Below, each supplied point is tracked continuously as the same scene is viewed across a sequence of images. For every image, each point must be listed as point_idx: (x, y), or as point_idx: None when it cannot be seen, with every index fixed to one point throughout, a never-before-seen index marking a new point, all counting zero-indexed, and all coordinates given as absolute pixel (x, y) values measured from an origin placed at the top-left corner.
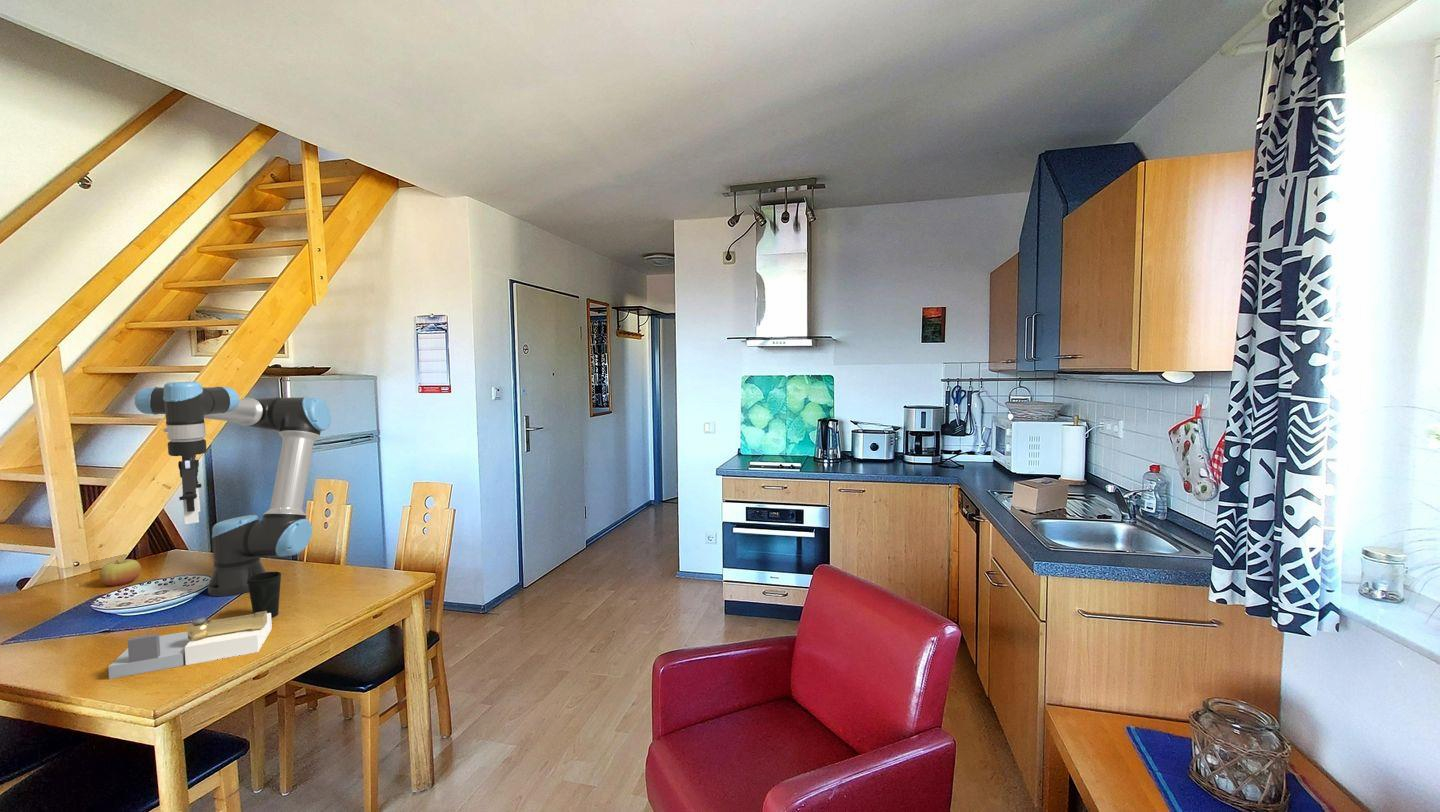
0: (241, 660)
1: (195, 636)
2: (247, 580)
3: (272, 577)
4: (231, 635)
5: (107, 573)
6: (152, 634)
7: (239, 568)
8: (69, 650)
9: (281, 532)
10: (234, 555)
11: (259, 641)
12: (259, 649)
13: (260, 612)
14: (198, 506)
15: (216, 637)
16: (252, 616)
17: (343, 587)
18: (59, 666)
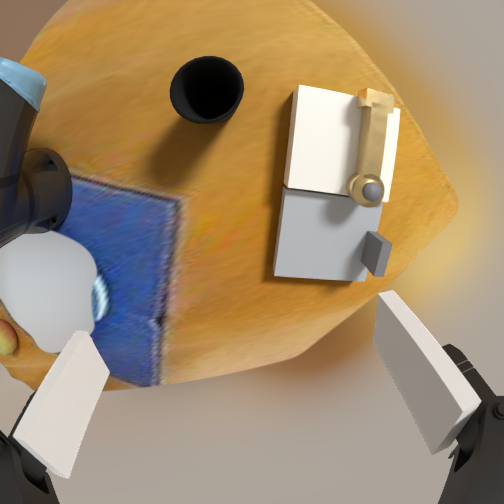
0: (401, 132)
1: None
2: (216, 121)
3: (182, 80)
4: None
5: (11, 349)
6: (382, 250)
7: (35, 187)
8: (216, 339)
9: (9, 93)
10: (18, 201)
11: None
12: None
13: (371, 97)
14: (76, 356)
15: None
16: (384, 110)
17: (132, 12)
18: (271, 334)
